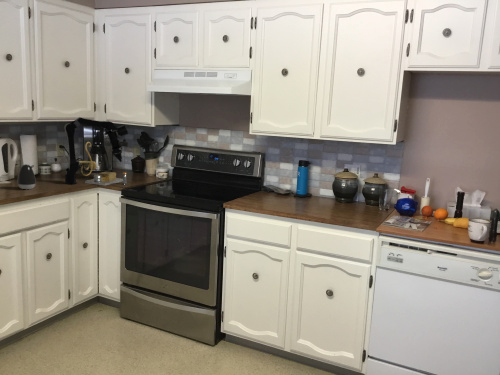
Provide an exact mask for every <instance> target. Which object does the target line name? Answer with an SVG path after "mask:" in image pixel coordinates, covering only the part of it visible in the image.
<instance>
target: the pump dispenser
mask: <svg viewBox="0 0 500 375" xmlns="http://www.w3.org/2000/svg"><path fill="white" fill-rule="evenodd" d="M34 167H35V164H32V165H30V164H28V163H27V164H26V163H25V164H23V165H22V166H21V167H20V169H19V171H18V175H17V185H18V187H19V188H20V190H23V189H26V190H27V189H29V190H33V188H34V187H35V186H36V183H37V179H36V176H35V172H34V170H33V168H34ZM27 191H28V190H27Z"/></svg>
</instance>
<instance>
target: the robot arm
mask: <svg viewBox="0 0 500 375" xmlns="http://www.w3.org/2000/svg"><path fill="white" fill-rule="evenodd" d="M81 125H88V126H94V127H99V128H103V129H105V132H104V135H105V136H106V135H107V137H108V140H109V144H110V145H111V149H112V150H111V153H112V155H113V156H114V157H115V158H116V159H117V160H118V161H119V162H120V163H121V162H122V159H123V156H122V155H123V154H122V153H123V151H122V150H123V147H125V148H127V147H128V146H129V141H128V140H127V139H126V138H123V139H122V140H120V139H119V138H118V137H120V138H121V137H125V136H127V135H129V132H128V131H129V130H127V128H126V126H125V124H124V125H123V124H122V125H121V126H118V127H117V126H115V124H114V123H113V121H109V120H95V119H89V118H84V117H80V116H79V117H78V118H77V119H75V120H73V121H71V122H70V123H65V125H64V127H63V130H64V132H65V135H66V138H67V139H66V140H67V148H68V163H67V164H68V166H67V168H65V170H64V172H65V174H64V178H65V181H64V182H63V185H64V184H65V185H75V184H78V182H77V181H76V180H77V176H76V174H77V173H78V171H79V170H80V169H81V167H80V163H79V161H80V160H77V159H76V149H75V148H76V147H75V140H74V138H75V131H76V129H77V128H78V127H79V126H81Z"/></svg>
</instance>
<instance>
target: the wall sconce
mask: <svg viewBox="0 0 500 375" xmlns="http://www.w3.org/2000/svg"><path fill="white" fill-rule="evenodd" d="M88 144H89V145H88ZM84 147H85V148H84V149H85V151H86V154H87V155H88V157H89V161H88V160H78V161H79V164H81V167H80V172H81V174H82V176H84V177H88V176H89V175H91V173H92V172H93V171H94V170H95V171H96V169H97V167H98V164H97V163H96V162H95V160H94V161H93V160H92V157H91V155H90V152H89V150H88V147H89V148H91V147H92V143H91V142H90V141H87V142H86V143H85V146H84ZM83 168H84V169H85V170H87V171H88V170H89V169H90V171H89V173H87V174H85V173H84V172H83Z"/></svg>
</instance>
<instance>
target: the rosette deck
mask: <svg viewBox="0 0 500 375" xmlns="http://www.w3.org/2000/svg"><path fill="white" fill-rule="evenodd" d="M121 182H122V183H123V178H120V177H117V172H111V171H104V172H103V171H101V172H99V174H94V175H93V179H92V178H91V179H88V180H84V183H85V184H91V185H97V186H98V185H100V186H108V185H112V184H117V183H121Z"/></svg>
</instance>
